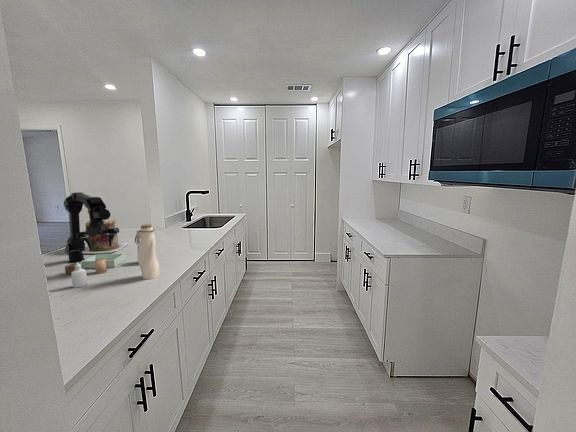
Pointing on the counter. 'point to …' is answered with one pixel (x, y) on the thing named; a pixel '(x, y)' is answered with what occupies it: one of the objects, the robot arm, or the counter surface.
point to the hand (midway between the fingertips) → (101, 248)
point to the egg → (100, 266)
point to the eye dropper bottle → (79, 276)
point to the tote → (111, 259)
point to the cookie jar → (104, 240)
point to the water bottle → (147, 252)
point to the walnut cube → (70, 268)
